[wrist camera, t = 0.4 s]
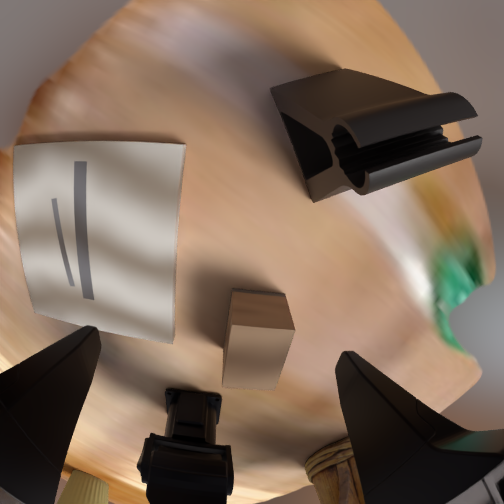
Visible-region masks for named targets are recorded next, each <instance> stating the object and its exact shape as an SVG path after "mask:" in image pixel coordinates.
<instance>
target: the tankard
mask: <svg viewBox="0 0 504 504" xmlns="http://www.w3.org/2000/svg"><path fill="white" fill-rule="evenodd" d="M305 470H306V474H307V476H308V479H309V481H310V482H311V483H313V484H314V486H315V489H316V492H317V495H318V497H319V500H320V503H321V504H365V501H364V497H363V496H364V495H363V492H362V487H361V483H360V479H359V474H358V470H357V466H356V462H355V458H354V454H353V450H352V446H351V442H350V439H349V437H347V438H344V439H343V440H341V441H338V442H336V443H334V444H331V445H328V446H326V447H324V448H323V449H321V450H319V451H318V452H316V453H315V454H314V455H312V456H311V457H310V458H309V459H308V460H307V462H306V464H305Z"/></svg>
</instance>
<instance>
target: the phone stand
mask: <svg viewBox="0 0 504 504" xmlns="http://www.w3.org/2000/svg"><path fill="white" fill-rule="evenodd" d="M270 90H271V93H272V96H273V98H274V100H275V103H276V105H277V108H278V110H279V112H280V115H281V117H282V120H283V122H284V125H285V128H286V130H287V133H288V135H289V138H290V140H291V143H292V145H293V148H294V151H295V154H296V157H297V159H298V162H299V165H300V168H301V170H302V173H303V176H304V179H305V182H306V185H307V188H308V191H309V194H310V197H311V199H312V201H313V203H315V202H317V201H320V200H323V199H326V198H328V197H331V196H334V195H336V194H339V193H342V192H345V191H347V190H350V189H353V190H354V191H355V192H356V193H358V194H359V195H366V194H369V193H371V192H374V191H377V190H380V189H382V188H385V187H388V186H391V185H393V184H396V183H399V182H402V181H404V180H407V179H410V178H413V177H415V176H418V175H421V174H424V173H427V172H429V171H432V170H435V169H438V168H441V167H444V166H446V165H449V164H452V163H455V162H458V161H461V160H463V159H466V158H469V157H472V156H474V155H475V154H477V152H478V151H479V149H480V147H481V144H482V137H480V136H478V135H477V136H473V137H470V138H466V139H462V140H459V141H456V142H452V143H451V142H448V138H447V137H445V136H443V128H442V127H441V126H440V125H444V124H448V123H452V122H457V121H461V120H466V119H470V118H474V117H476V116H478V115H477V113H476V111H475V110H474V108H473V107H472V105H471V104H470V103H469V102H468V101H467V100H466V99H465V98H464V97H463V96H461V95H459V94H457V93H453V92H448V93H441V94H435V95H427V94H424V93H422V92H419V91H417V90H414V89H411V88H409V87H406V86H403V85H400V84H397V83H395V82H392V81H389V80H385V79H382V78H379V77H376V76H372V75H369V74H365V73H362V72H358V71H354V70H350V69H346V68H345V69H341V70H336V71H331V72H327V73H323V74H318V75H314V76H311V77H307V78H303V79H299V80H296V81H292V82H289V83H285V84H282V85H279V86H275V87H272V88H270Z"/></svg>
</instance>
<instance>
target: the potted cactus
mask: <svg viewBox="0 0 504 504" xmlns="http://www.w3.org/2000/svg"><path fill="white" fill-rule="evenodd" d="M108 489H109V487H108V484H107V483H106V482H104V481H103V480H101V479H99V478H97V477H95V476H92V475H90V474H88V473H85V472H82V471H79V470H73V472H72V474H71V476H70V478H69V480H68V482H67V484H66V486H65V488H64V490H63V492H62V494H61V496H60V498H59V500H58V502H57V504H108Z"/></svg>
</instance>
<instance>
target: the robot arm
mask: <svg viewBox="0 0 504 504" xmlns="http://www.w3.org/2000/svg"><path fill="white" fill-rule="evenodd" d="M100 351H101V341H100V336H99V331H98V328H97V327H95V326H90V325H86V326H84V327H82V328H81V329H79V330H77V331H75V332H73V333H72V334H70V335H68V336H66V337H64V338H63V339H61V340H59V341H57V342H56V343H54V344H52V345H50V346H48V347H47V348H45V349H43V350H41V351H40V352H38V353H36V354H34V355H33V356H31V357H29V358H27V359H26V360H24V361H22V362H20V364H17V365H15V366H13V367H12V368H10V369H8V370H6V371H4V372H3V373H0V504H54V502H55V497H56V493H57V489H58V485H59V481H60V477H61V474H60V473H61V472H62V469H63V465H64V462H65V458H66V455H67V451H68V448H69V445H70V442H71V439H72V436H73V433H74V430H75V427H76V424H77V421H78V418H79V415H80V412H81V410H82V407H83V404H84V401H85V399H86V396H87V394H88V391H89V388H90V386H91V383H92V380H93V376H94V372H95V369H96V365H97V362H98V358H99V355H100ZM335 374H336V380H337V386H338V393H339V399H340V405H341V409H342V412H343V416H344V420H345V423H346V427H347V431H348V435H349V439H350V442H351V446H352V450H353V454H354V458H355V462H356V466H357V470H358V474H359V479H360V483H361V487H362V492H363V495H364V496H363V497H364V501H365V504H504V429H498V430H488V431H470V430H467V429H464V428H462V427H461V426H459V425H457V424H456V423H454V422H452V421H450V420H449V419H447V418H445V417H444V416H442V415H440V414H439V413H437V412H436V411H434V410H432V409H431V408H430V407H428V406H427V405H425V404H424V403H422V402H421V401H420V400H418V399H416V397H414V396H413V395H411V394H410V393H409V392H407V391H406V390H405V389H403V388H402V387H401V386H399V385H398V384H397V383H395V382H394V381H393V380H391V379H390V378H389V377H387V376H386V375H385V374H383V373H382V372H381V371H379V370H378V369H377V368H375V367H374V366H373V365H371V364H370V363H369V362H367V361H366V360H365V359H363V358H362V357H361V356H359V355H358V354H357V353H355V352H354V351H343V352H342V354H341V356H340V358H339V360H338V362H337V365H336V368H335ZM165 396H166V405H167V414H168V417H167V423H166V429H165V435H164V436H160V435H156V434H155V433H150V437H149V438H145V442H144V447H143V450H142V453H141V456H140V458H139V461H138V463H137V469H138V470H139V471H140V473H141V476H142V483H146V484H147V489H146V497H147V499H148V501H149V503H150V504H227V495H231V494H232V490H233V484H234V471H233V462H232V454H231V446H230V445H225V446H224V445H216V425H217V424H218V422H219V416H220V409H221V402H222V396H220V395H216V394H206V393H198V392H190V391H183V390H176V389H169V388H168V389H166V391H165Z"/></svg>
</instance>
